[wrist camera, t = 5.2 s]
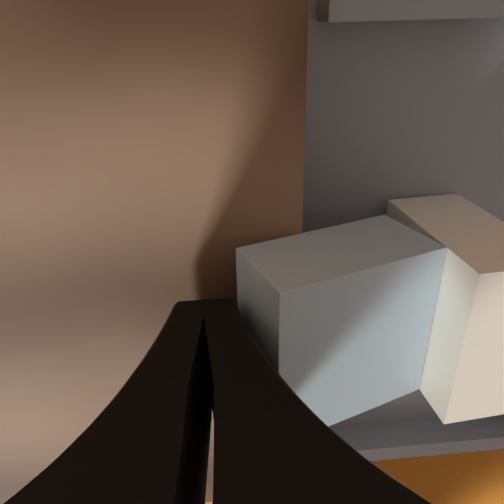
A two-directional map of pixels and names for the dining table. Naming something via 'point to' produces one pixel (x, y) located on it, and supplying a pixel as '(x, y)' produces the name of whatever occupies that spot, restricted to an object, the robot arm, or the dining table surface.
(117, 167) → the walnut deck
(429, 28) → the tray
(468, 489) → the dining table surface
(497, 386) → the cream tile
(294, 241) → the grey blue tile
